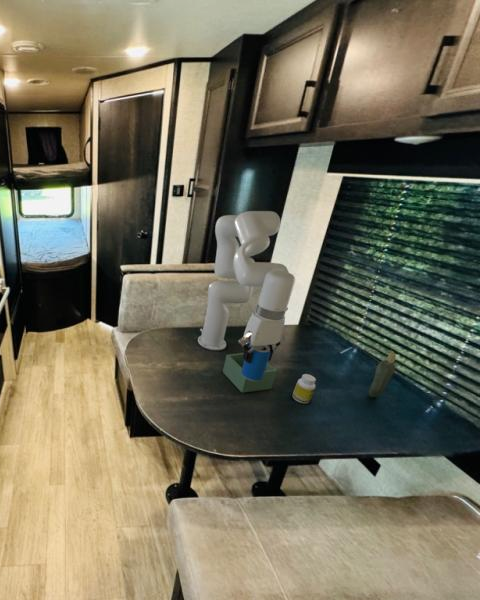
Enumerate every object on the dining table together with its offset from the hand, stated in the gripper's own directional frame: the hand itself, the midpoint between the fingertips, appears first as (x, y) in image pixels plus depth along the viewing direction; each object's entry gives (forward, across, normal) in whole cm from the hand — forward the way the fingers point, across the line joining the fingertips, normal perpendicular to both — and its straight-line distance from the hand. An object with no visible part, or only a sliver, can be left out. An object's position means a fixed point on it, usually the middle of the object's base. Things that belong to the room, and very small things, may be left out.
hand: (256, 359), depth 102 cm
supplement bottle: (+21, -24, 0) cm, 32 cm away
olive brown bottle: (+21, -50, +4) cm, 54 cm away
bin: (+21, -11, -13) cm, 27 cm away
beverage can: (+7, 0, 0) cm, 7 cm away
